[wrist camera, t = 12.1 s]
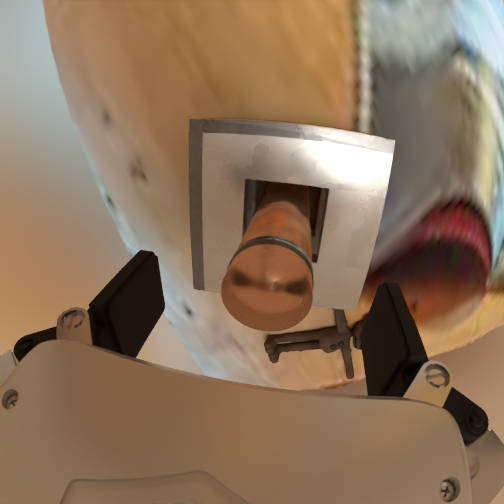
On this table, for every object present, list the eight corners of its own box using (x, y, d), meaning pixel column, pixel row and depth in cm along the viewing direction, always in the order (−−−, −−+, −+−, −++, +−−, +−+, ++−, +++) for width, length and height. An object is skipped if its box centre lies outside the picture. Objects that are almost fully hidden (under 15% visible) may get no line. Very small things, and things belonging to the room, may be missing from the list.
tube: (268, 170, 26) (219, 248, 11) (311, 175, 26) (322, 262, 11) (265, 210, 28) (220, 324, 13) (306, 214, 28) (305, 337, 13)
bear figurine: (242, 303, 31) (377, 285, 25) (252, 282, 34) (372, 262, 29) (283, 394, 38) (382, 388, 32) (288, 373, 41) (380, 365, 36)
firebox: (221, 117, 24) (189, 119, 17) (368, 133, 23) (394, 140, 16) (218, 248, 31) (193, 288, 24) (345, 264, 29) (355, 310, 22)
